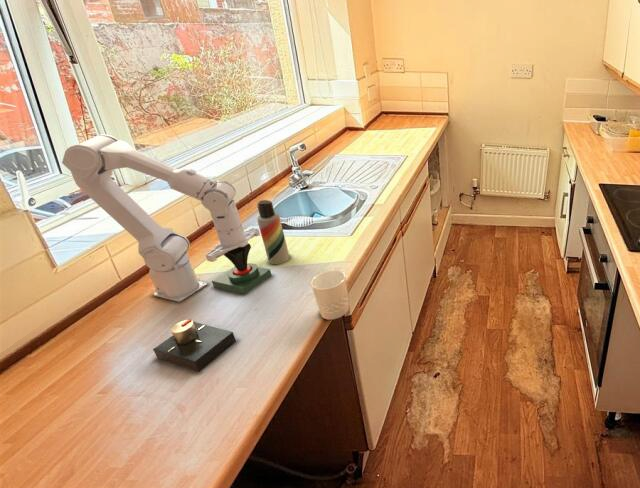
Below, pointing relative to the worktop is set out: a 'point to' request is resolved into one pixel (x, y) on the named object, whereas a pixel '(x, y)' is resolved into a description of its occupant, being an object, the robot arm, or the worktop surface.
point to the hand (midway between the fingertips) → (242, 269)
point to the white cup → (331, 294)
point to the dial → (184, 332)
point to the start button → (238, 272)
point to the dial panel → (196, 348)
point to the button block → (242, 279)
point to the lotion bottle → (272, 233)
